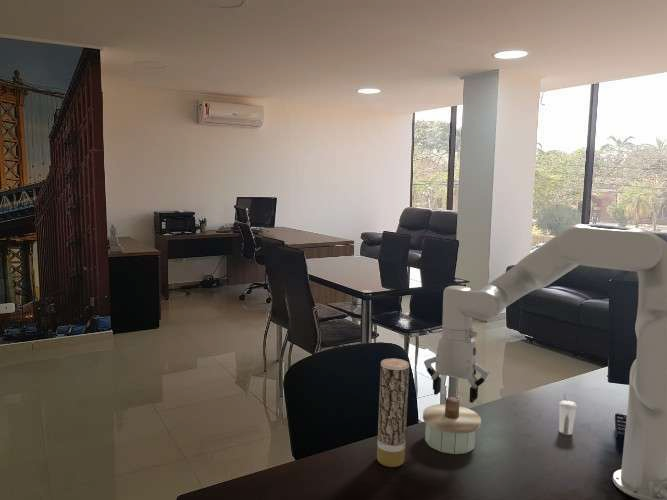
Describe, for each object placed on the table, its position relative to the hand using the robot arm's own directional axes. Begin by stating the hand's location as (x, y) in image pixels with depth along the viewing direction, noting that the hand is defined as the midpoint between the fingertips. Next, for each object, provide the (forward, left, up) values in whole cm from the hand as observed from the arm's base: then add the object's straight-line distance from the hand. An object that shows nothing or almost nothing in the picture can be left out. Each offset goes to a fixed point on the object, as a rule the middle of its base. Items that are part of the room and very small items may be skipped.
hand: (454, 397), depth 138 cm
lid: (0, 0, -7) cm, 7 cm away
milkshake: (0, -35, -13) cm, 37 cm away
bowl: (0, 0, -13) cm, 13 cm away
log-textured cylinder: (-7, +19, -13) cm, 24 cm away
